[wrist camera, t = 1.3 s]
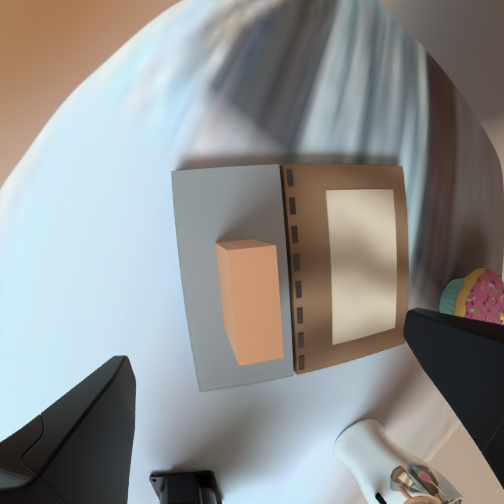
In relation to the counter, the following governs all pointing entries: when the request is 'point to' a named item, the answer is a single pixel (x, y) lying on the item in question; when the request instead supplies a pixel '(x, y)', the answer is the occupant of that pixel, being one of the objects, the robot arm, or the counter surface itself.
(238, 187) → the gray plate with block
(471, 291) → the cupcake
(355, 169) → the block
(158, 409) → the counter surface
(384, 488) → the beer glass
